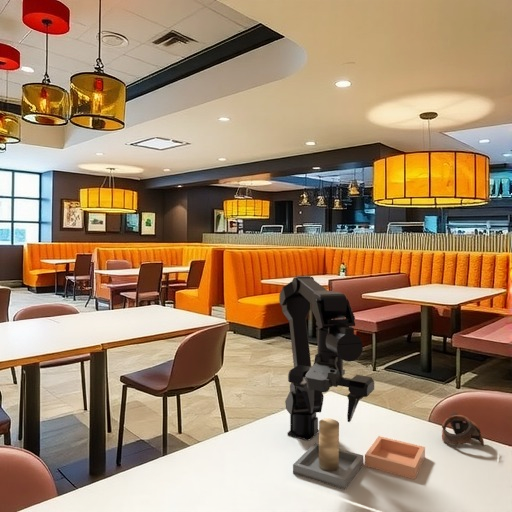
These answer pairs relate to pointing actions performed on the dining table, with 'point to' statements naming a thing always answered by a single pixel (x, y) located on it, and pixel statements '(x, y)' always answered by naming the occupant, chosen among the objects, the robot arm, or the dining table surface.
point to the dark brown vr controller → (461, 430)
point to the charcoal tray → (338, 478)
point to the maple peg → (328, 445)
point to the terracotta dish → (395, 457)
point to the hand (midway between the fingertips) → (329, 417)
